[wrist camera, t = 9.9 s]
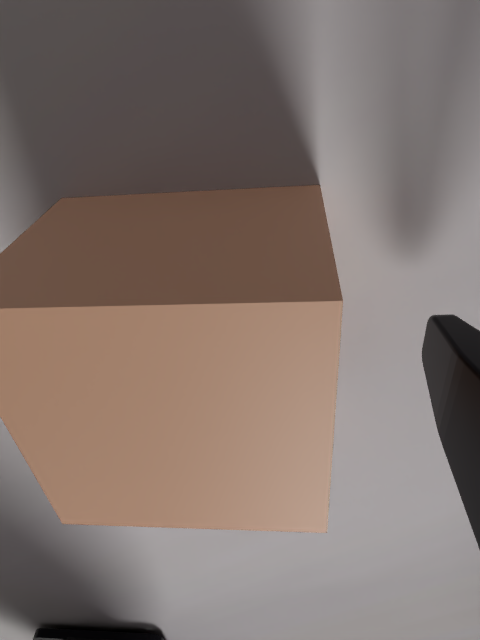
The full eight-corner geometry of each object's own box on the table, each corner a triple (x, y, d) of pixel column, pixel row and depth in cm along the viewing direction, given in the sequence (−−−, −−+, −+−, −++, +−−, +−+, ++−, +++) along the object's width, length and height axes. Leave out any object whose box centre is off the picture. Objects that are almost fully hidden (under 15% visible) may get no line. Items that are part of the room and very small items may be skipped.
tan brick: (314, 378, 11) (326, 533, 8) (122, 378, 12) (63, 524, 8) (319, 182, 8) (342, 301, 5) (64, 195, 9) (-62, 309, 6)
